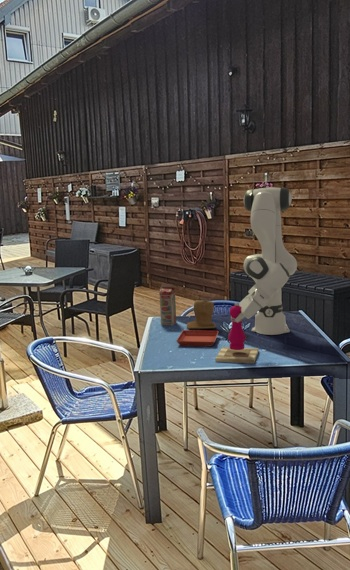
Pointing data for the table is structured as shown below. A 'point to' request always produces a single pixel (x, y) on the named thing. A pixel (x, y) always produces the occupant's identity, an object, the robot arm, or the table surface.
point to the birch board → (237, 355)
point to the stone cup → (202, 315)
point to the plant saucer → (197, 338)
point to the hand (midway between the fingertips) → (235, 319)
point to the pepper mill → (236, 329)
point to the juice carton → (167, 304)
